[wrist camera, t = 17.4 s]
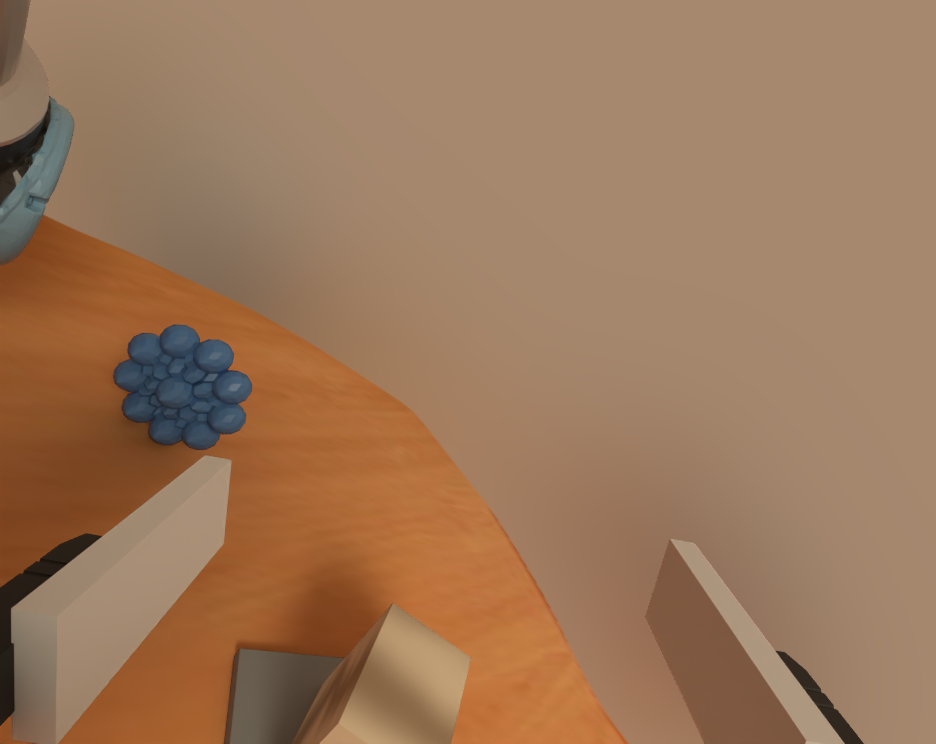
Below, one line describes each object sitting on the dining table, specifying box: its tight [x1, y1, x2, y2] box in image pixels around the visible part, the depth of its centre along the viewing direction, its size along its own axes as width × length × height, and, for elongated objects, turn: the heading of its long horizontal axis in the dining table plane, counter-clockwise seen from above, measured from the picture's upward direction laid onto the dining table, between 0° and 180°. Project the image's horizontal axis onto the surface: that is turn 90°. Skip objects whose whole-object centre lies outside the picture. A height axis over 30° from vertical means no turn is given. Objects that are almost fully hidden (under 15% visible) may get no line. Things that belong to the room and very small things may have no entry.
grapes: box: [113, 325, 252, 450], centre depth 45 cm, size 12×7×12 cm, turn 72°
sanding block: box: [291, 603, 471, 744], centre depth 31 cm, size 8×6×10 cm
